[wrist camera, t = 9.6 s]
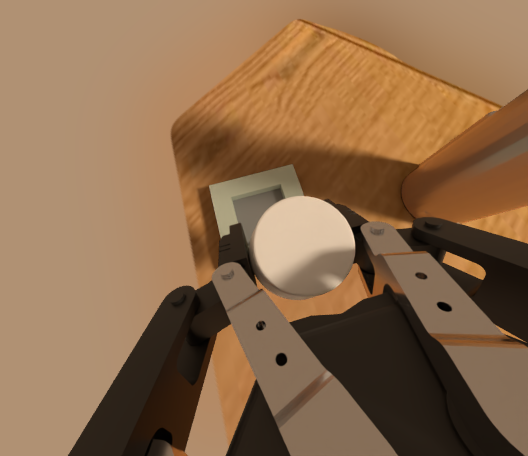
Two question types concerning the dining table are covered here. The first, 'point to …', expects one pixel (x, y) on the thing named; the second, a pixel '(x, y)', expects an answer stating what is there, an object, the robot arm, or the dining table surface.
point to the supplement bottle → (301, 248)
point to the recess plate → (252, 197)
